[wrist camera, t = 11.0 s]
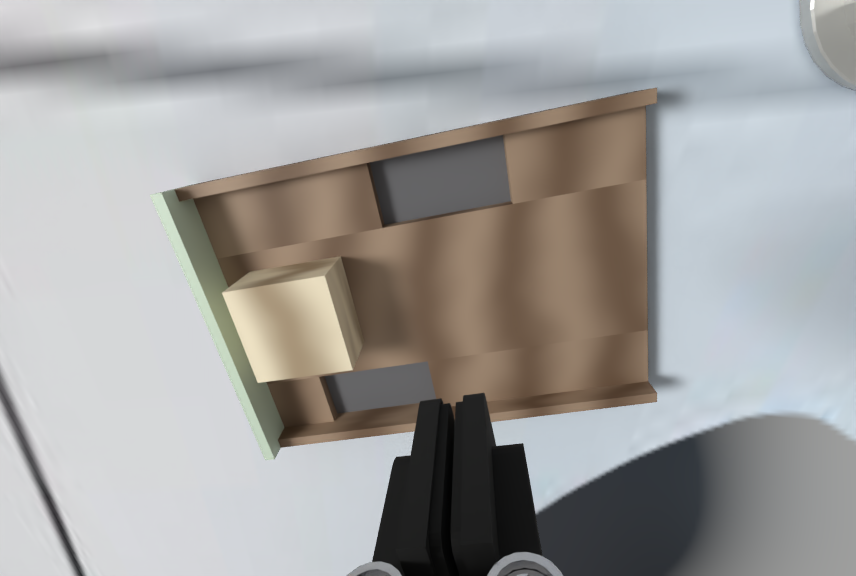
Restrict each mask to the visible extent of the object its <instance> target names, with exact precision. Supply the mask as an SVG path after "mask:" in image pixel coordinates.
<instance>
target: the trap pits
mask: <svg viewBox="0 0 856 576" xmlns="http://www.w3.org/2000/svg"><path fill="white" fill-rule="evenodd" d="M370 166H371V170H372V174H373V179H374V183H375V187H376V191H377V195H378V199H379V204H380V208H381V212H382V216H383V220H384V224H385V225H386V224H392V223H397V222H402V221H408V220H413V219H418V218H424V217H429V216H435V215H440V214H445V213H451V212H456V211H461V210H467V209H472V208H478V207H483V206H488V205H494V204H499V203H504V202H510V201H511V197H510V189H509V181H508V173H507V165H506V157H505V149H504V141H503V135H500V136H495V137H490V138H485V139H480V140H475V141H471V142H466V143H461V144H456V145H451V146H446V147H442V148H437V149H432V150H427V151H422V152H417V153H412V154H408V155H403V156H398V157H393V158H388V159H383V160H378V161H374V162H370ZM325 379H326V382H327V385H328V388H329V391H330V394H331V397H332V400H333V403H334V406H335V409H336V412H337V414H338V413H346V412H353V411H361V410H369V409H376V408H384V407H392V406H400V405H407V404H415V403H420V401H424V400H432V399H436V396H435V391H434V387H433V383H432V378H431V374H430V370H429V365H428V361H427V362H420V363H413V364H406V365H399V366H392V367H385V368H378V369H370V370H363V371H356V372H349V373H342V374H335V375H328V376H325Z"/></svg>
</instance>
